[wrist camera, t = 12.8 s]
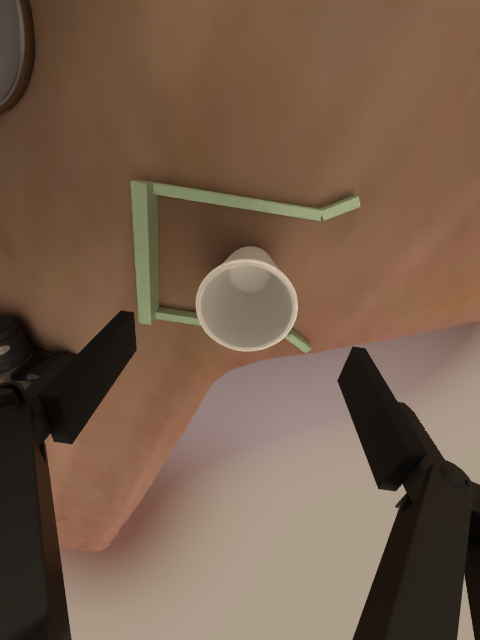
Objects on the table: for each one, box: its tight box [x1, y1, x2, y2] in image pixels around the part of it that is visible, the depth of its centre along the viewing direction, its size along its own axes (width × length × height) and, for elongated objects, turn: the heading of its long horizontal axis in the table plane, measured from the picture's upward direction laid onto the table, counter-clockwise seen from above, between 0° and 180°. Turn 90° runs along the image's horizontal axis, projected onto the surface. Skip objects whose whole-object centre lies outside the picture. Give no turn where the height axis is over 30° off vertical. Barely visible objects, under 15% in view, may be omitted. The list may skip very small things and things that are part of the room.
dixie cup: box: [196, 246, 298, 351], centre depth 25 cm, size 8×8×10 cm
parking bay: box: [130, 180, 360, 353], centre depth 28 cm, size 21×18×3 cm
